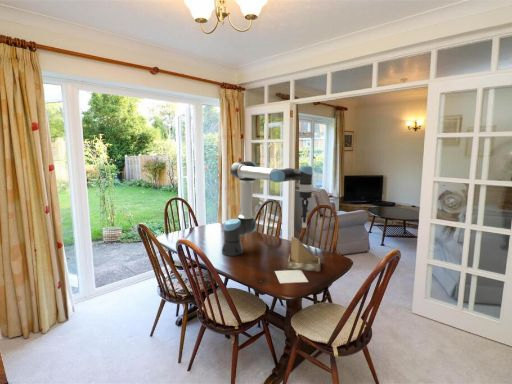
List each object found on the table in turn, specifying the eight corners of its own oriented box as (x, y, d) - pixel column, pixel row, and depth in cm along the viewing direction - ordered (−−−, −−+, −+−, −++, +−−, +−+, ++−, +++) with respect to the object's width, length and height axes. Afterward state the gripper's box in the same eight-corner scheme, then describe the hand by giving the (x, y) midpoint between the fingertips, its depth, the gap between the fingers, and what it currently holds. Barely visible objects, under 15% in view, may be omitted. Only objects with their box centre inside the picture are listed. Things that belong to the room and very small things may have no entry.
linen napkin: (280, 284, 161) (280, 283, 161) (274, 272, 177) (274, 271, 177) (308, 283, 163) (308, 281, 163) (300, 271, 179) (300, 269, 179)
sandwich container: (318, 259, 185) (319, 237, 183) (298, 263, 179) (298, 239, 177) (311, 255, 193) (311, 233, 191) (291, 258, 187) (291, 236, 185)
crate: (287, 269, 181) (287, 261, 180) (289, 260, 195) (289, 253, 194) (320, 271, 177) (320, 264, 176) (319, 262, 192) (319, 255, 191)
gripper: (311, 194, 167) (310, 230, 170) (311, 188, 191) (310, 220, 194) (298, 193, 168) (297, 229, 171) (300, 188, 193) (299, 219, 196)
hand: (304, 224), depth 183 cm, fingers open, 13 cm apart
